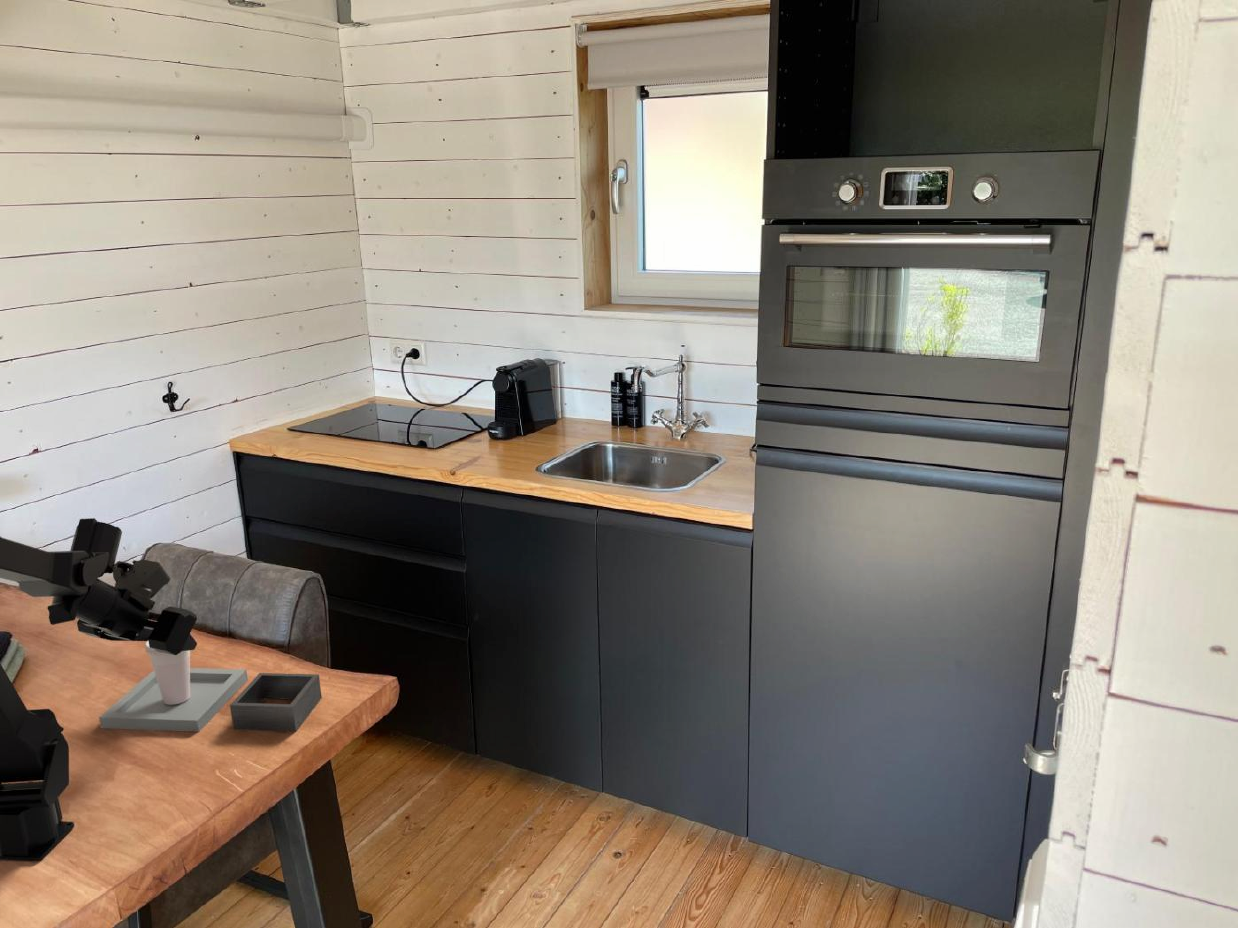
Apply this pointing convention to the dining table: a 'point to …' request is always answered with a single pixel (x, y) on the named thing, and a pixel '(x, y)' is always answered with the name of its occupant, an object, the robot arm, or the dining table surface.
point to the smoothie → (171, 674)
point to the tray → (151, 713)
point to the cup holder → (276, 716)
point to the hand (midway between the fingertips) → (175, 642)
